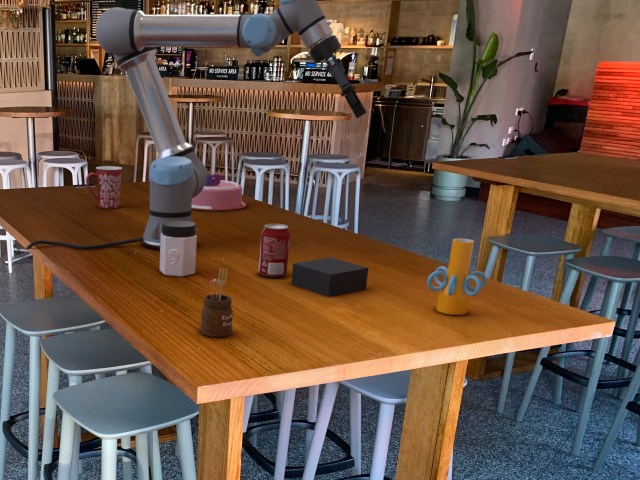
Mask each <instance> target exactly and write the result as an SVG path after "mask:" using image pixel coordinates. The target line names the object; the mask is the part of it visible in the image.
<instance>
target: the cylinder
mask: <svg viewBox="0 0 640 480" xmlns="http://www.w3.org/2000/svg"><path fill="white" fill-rule="evenodd" d="M474 243H475V240H474V239H470V238H463V237H461V238H459V237H457V238H453V239H452V243H451V249H450V254H449V261H448V266H447V267H446V266H443V265H442V266H438V267H437V268H436V269H435V271H433V272H431V273H430V274H429V275H428V277H427V279H426V285H427V287H428V289H429V290H431V291H433V292H438V297H437V301H436V308H435V309H436V311H437V312H439V313H440V314H444V315H450V316H463V315H466V313H467V312H468V308H469V302H470V297H475V296H477V295H479V293H480V291H481V290H482V289H483V288H485V286H486V284H487V276H486V274H485V273H484V272H482V271H479V270H475V271H472V272H470V266H471V261H472V255H473V250H474ZM469 272H470V273H469ZM439 276H441V277H442V278H443V282H441V281H440V280H439ZM477 276H479V277H481V280H480V279H479V277H477ZM432 279H434V282H435V284H436V285H437V286H434V285H432ZM471 280H473V281H474V282H475V284H476V287H473V286H472V285H470V281H471Z"/></svg>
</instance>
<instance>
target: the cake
mask: <svg viewBox="0 0 640 480" xmlns="http://www.w3.org/2000/svg"><path fill="white" fill-rule="evenodd" d="M247 206H248V203H246V202H245V201H243V186H242V185H241V184H239V183H238V182H235V181H230V180H224V179H223V180H222V178H221V175H220V174H217V173H214V174H207V180H206V184H205V186H204V188H203V189H202V191H201V192H200V193H199V194H198V195H197V196H195V197H193V198H192V210H195V211H208V212H223V211H224V212H226V211H227V212H228V211H235V210H242V209H244V208H246V207H247Z"/></svg>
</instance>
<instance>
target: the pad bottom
mask: <svg viewBox="0 0 640 480" xmlns="http://www.w3.org/2000/svg"><path fill="white" fill-rule="evenodd" d="M367 284H368V278H367V279H361V280H356V281H351V282H345V283H340V284H335V285H327V284H323V283H320V282H317V281H314V280H311V279H307V278H304V277H301V276H298V275H295V274H292V273H291V282H290V285H293V286H296V287H297V288H298V287H299V288H301V289H304V290H308V291H311V292H314V293H317V294H320V295H323V296H326V297H333V296H338V295H343V294H347V293H352V292H359V291H364V290H367Z"/></svg>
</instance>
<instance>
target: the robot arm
mask: <svg viewBox="0 0 640 480" xmlns="http://www.w3.org/2000/svg"><path fill="white" fill-rule="evenodd" d="M279 2H280V5H278V7H277V8H276V9H274V10H273V11H271V12H270V13H269V14H266V13H254V14H145V13H144V12H143V11H142V10H137V9H134V8H123V7H111V8H108V9H107V10H104V12H102V13H101V15H100V16H99V17H98V19H97V21H96V24H95V28H94V29H95V31H94V33H95V38H96V41H97V44H98V46H100V48H101V49H102V50H104V51H105V52H106V53H108V54H111V55H113V58H114V61H115V63H116V66H117V68H118V69H119V70H121V71H123V72H125V74H126V76H127V78H128V82H129V84H130V86H131V88H132V89H131V90H132V92H133V94H134V97H135V99H136V102H137V104H138V106H139V109H140V112H141V115H142V117H143V120H144V122H145V125H146V127H147V130H148V132H149V135H150V137H151V140H152V143H153V145H154V148H155V150H156V153H157V156H156V159H154V160H153V161H151V164H150V169H149V213H148V214H149V217H148V220H147V223H146V226H145V229H144V232H143V235H142V237H137V238H130V239H124V240H119V241H118V240H117V241H112V242H106V243H101V244H95V245H94V244H92V245H91V244H90V245H89V244H88V245H86V244H85V245H84V244H83V245H81V244H75V243H71V242H66V241H55V240H54V241H53V240H44V239H38V240H34V241H33V242H31V243H29V244H28V245H27V246H26V247H25V250H30V249H32V248H33V247H34V246H36V245H50V246H65V247H69V248H74V249H78V250H79V249H80V250H93V249H95V250H96V249H101V248H102V249H103V248H107V247H115V246H119V245H120V246H121V245H125V244H131V243H133V244H134V243H138V242H142V243H141V244H142V246H143V247H145V248H148V249H150V250H151V249H152V250H156V251H158V250H159V251H160V241H161V233H162V223H163V222H166V221H175V220H180V221H190V222H193V220H192V210H193V209H192V198H193V197H195V196H197V195H198V194H199V193H200V192H201V191H202V189H203V188H204V186H205V184H206V180H207V175H208V171H207V169H206V166H205V164H204V162H203V161H202V160H201V159H200V158H198V155H197V153H196V150H195V148H194V145H193V144H191V143H189V142H187V141H186V139H185V136H184V134H183V131H182V128H181V126H180V123H179V121H178V118H177V116H176V112H175V110H174V108H173V105H172V102H171V99H170V97H169V94H168V91H167V89H166V87H165V84H164V82H163V79H162V76H161V73H160V71H159V68H158V65H157V63H156V60H155V58H156V56H157V53H158V50H157V48H242V49H244V48H246V49H250V51H251V52H252V54H253V55H254V56H256V57H258V58H259V57H261V56H263V55H265V54H267V53H269V52H270V51H271V50H272V49H273V48H275V47H276V46H278V45H279V44H281V43H282V42H283V41H284V40H286V39H287V38H289V37H290V36H291V35H293V34H295V33H296V32H297V33H298V35H299V38H300V39H301V42H302V43H303V45H304V47H305V49H306V50H309V56H310V57H311V59H312V60H313V62H314V64H315V65H317V64H320V63H321V62H323V61H324V60H325V64H326V65H325V69H326V71H327V73H329V74H330V76H331V77H332V79H333V80H335V81H336V83H337V85H338V86H339V88H340V90H341V92H340V93H339V94H340V96H341V98H343V97H344V99H345V100H346V102H347V104H348V106H349V107H350V109H351V111H352V113H353V115H354V117H355V118H356V119H359V118H361V117H362V116H363V115H365V114H367V113H368V112H367V111H366V109H365V107H364V105H363V103H362V102H361V100H360V97H359V96H358V94H357V93H356V91H355V90H356V89H357V87H356V86H355V85H352V84H351V83H350V81H349V79H348V77H347V76H346V74H345V73H346V70H345V67H344V66H343V62H342V61H341V59H340V57H338V58H337V56H336V55H335V53H336V52H337V51H340V49H341V48H342V45H341V42H340V41H339V39H338V37H337V36H336V35H335V34H333V33H334V31H333V29H332V27H331V26H330V25H332V21H331V20H328V19H327V18H326V16H325V13H324V12H323V10H322V8H321V6H320V4H319V3H318V0H279ZM197 230H198V226H197V225H196V232H197ZM195 235H196V236H197V233H195ZM197 244H198V242H197V243H196V247H197V246H198V245H197Z"/></svg>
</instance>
